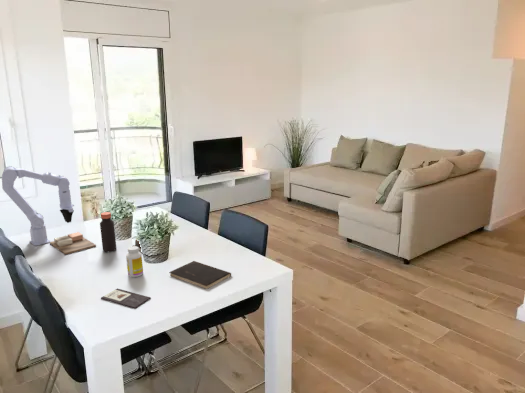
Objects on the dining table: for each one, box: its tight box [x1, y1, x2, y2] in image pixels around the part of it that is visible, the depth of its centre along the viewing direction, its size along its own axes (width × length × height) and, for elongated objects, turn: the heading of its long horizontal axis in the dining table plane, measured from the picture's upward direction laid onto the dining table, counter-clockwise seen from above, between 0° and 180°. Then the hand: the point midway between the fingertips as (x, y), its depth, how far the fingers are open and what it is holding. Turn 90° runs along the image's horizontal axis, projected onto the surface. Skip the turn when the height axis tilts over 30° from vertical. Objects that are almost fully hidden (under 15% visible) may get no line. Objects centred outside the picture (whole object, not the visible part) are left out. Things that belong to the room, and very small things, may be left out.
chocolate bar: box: [100, 288, 152, 310], centre depth 173 cm, size 9×1×18 cm
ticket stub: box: [67, 231, 84, 241], centre depth 237 cm, size 6×6×2 cm
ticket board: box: [49, 235, 97, 255], centre depth 231 cm, size 22×16×4 cm
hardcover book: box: [169, 260, 232, 290], centre depth 193 cm, size 16×23×2 cm
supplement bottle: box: [125, 245, 144, 278], centre depth 193 cm, size 7×7×13 cm
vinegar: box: [99, 211, 117, 253], centre depth 222 cm, size 7×7×20 cm
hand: (68, 221), depth 241 cm, fingers closed
